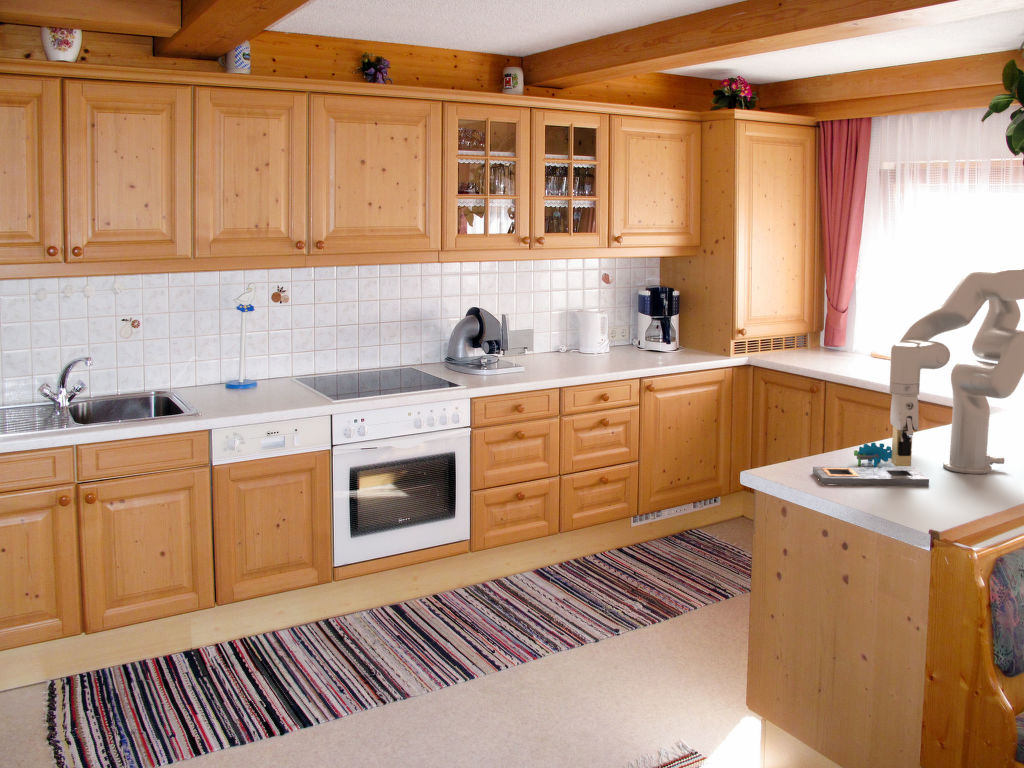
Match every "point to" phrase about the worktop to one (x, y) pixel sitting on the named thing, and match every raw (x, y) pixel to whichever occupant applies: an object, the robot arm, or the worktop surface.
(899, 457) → the peg
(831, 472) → the rail plate
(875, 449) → the gear
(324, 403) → the worktop surface
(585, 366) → the worktop surface
